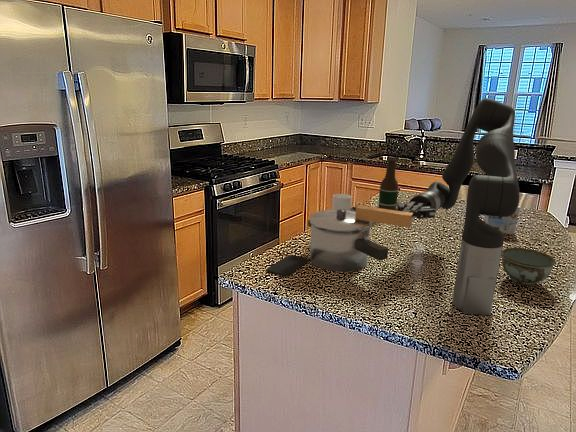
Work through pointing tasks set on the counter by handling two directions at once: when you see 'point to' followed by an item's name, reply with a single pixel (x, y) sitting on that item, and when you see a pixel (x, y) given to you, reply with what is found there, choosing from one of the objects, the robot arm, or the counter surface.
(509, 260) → the bowl
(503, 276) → the counter surface
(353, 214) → the lid
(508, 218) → the light bulb box
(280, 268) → the phone
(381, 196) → the beer bottle
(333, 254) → the pot
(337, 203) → the drinking glass
